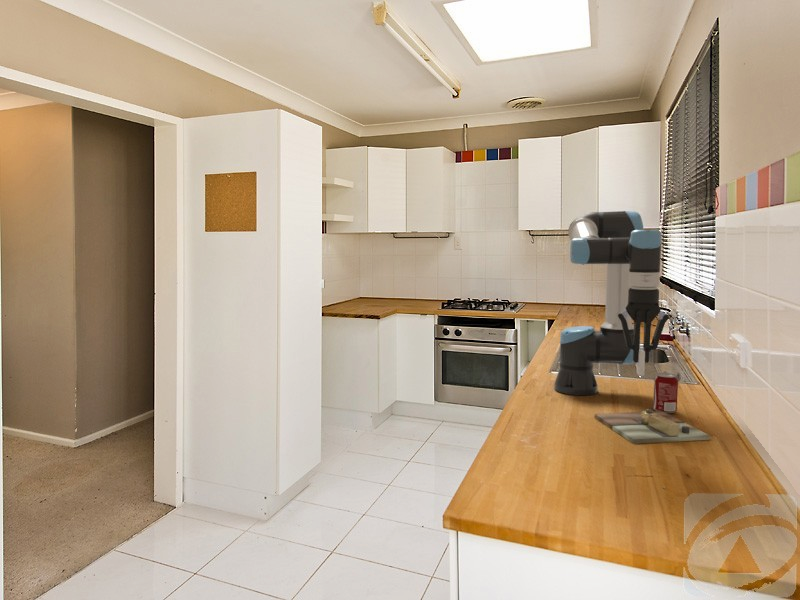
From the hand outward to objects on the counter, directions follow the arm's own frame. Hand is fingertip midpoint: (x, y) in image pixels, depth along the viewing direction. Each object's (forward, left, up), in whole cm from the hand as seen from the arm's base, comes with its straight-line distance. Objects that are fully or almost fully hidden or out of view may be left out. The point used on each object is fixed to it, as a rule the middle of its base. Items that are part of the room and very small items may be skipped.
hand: (640, 374), depth 145 cm
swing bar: (-3, +8, -16) cm, 18 cm away
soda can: (-21, +21, -18) cm, 35 cm away
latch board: (-7, +7, -18) cm, 21 cm away
